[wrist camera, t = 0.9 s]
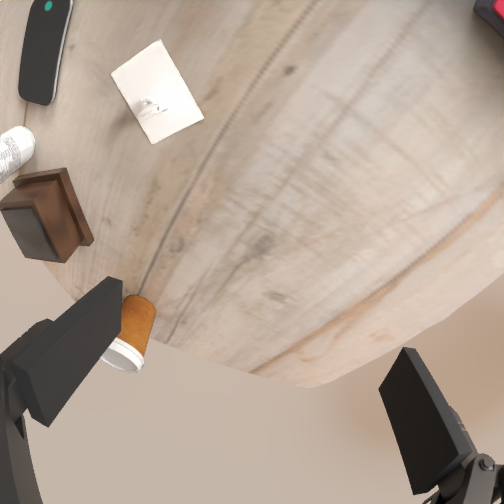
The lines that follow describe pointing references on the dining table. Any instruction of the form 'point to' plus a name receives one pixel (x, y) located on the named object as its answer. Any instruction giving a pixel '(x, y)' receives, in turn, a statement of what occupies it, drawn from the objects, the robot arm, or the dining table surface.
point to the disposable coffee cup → (131, 335)
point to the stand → (46, 216)
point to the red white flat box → (492, 13)
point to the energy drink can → (15, 150)
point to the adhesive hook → (156, 93)
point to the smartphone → (43, 50)
